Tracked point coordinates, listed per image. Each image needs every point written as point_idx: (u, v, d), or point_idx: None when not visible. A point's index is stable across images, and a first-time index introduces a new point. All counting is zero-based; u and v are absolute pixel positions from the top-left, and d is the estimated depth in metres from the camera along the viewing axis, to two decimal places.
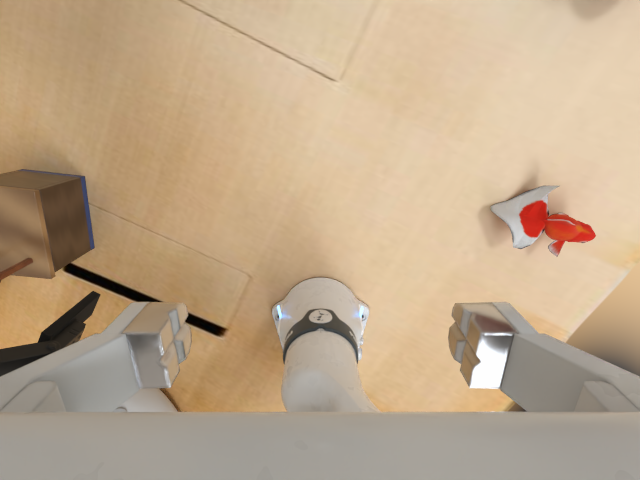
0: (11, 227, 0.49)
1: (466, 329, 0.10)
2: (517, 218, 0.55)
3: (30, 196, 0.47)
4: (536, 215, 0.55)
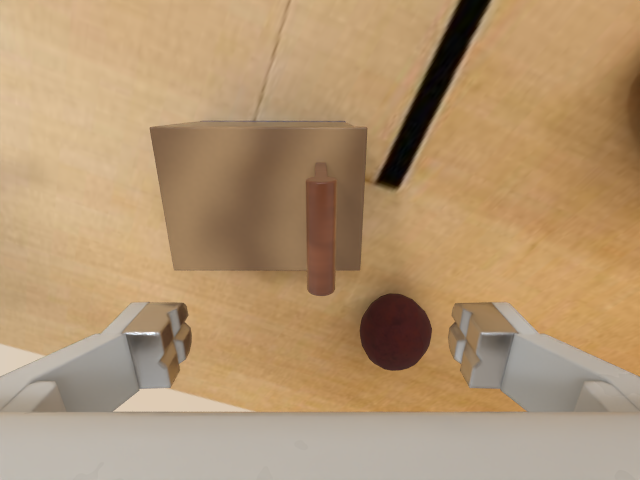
0: (246, 193, 0.23)
1: (466, 329, 0.10)
2: None
3: (163, 137, 0.22)
4: None
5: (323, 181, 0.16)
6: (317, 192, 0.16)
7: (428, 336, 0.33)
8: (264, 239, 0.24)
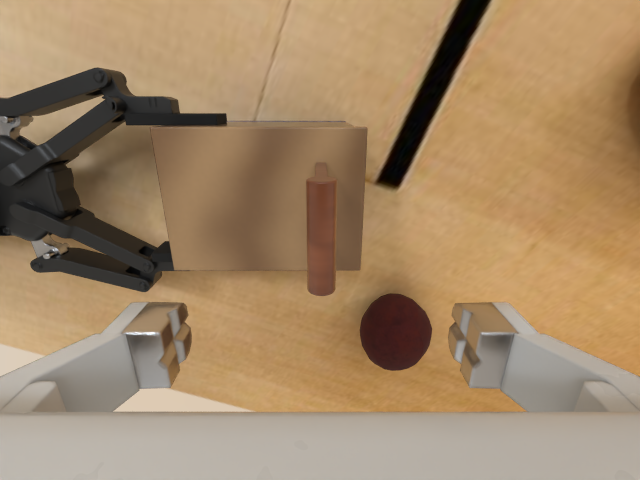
0: (247, 193, 0.23)
1: (466, 329, 0.10)
2: None
3: (163, 137, 0.21)
4: None
5: (323, 181, 0.16)
6: (317, 192, 0.16)
7: (428, 336, 0.33)
8: (265, 239, 0.24)
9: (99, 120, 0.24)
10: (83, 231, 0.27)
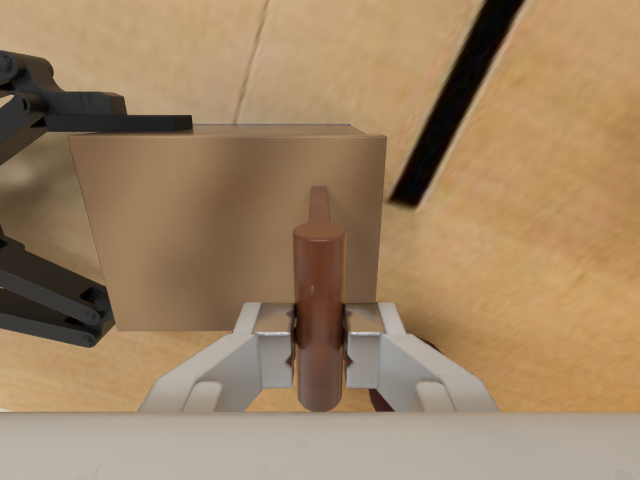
0: (213, 229, 0.16)
1: None
2: None
3: (89, 151, 0.15)
4: None
5: (323, 236, 0.09)
6: (312, 256, 0.09)
7: None
8: (241, 290, 0.17)
9: (10, 125, 0.17)
10: (2, 272, 0.20)
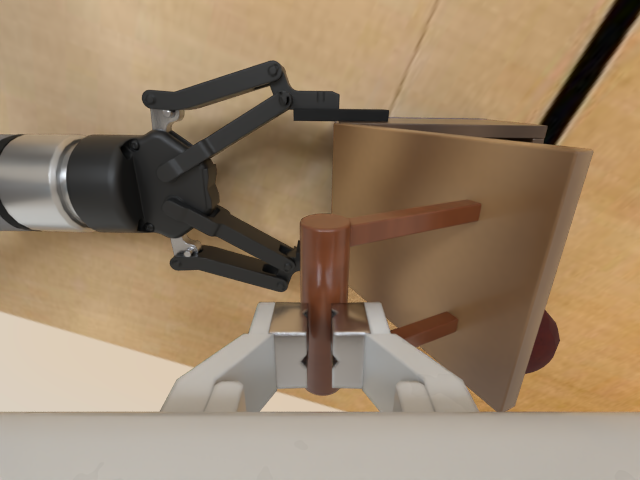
0: None
1: None
2: None
3: (339, 135, 0.20)
4: None
5: (309, 224, 0.10)
6: (300, 238, 0.10)
7: (558, 339, 0.32)
8: (393, 281, 0.18)
9: (265, 115, 0.23)
10: (229, 229, 0.27)
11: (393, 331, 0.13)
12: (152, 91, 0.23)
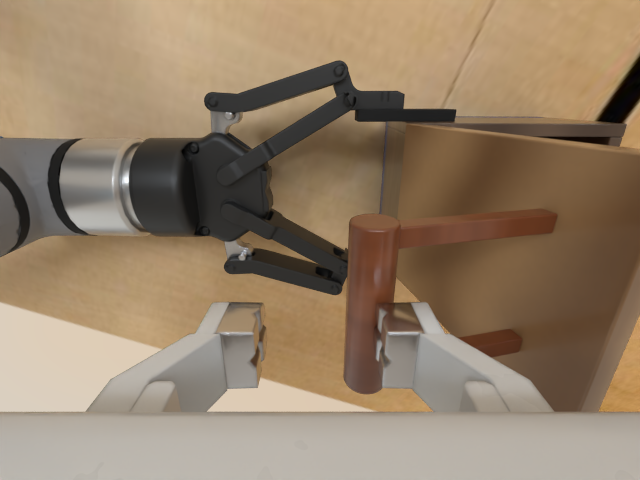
0: None
1: None
2: None
3: (411, 136, 0.20)
4: None
5: (357, 223, 0.10)
6: (349, 236, 0.10)
7: None
8: (454, 291, 0.17)
9: (329, 116, 0.23)
10: (285, 231, 0.26)
11: None
12: (215, 93, 0.23)
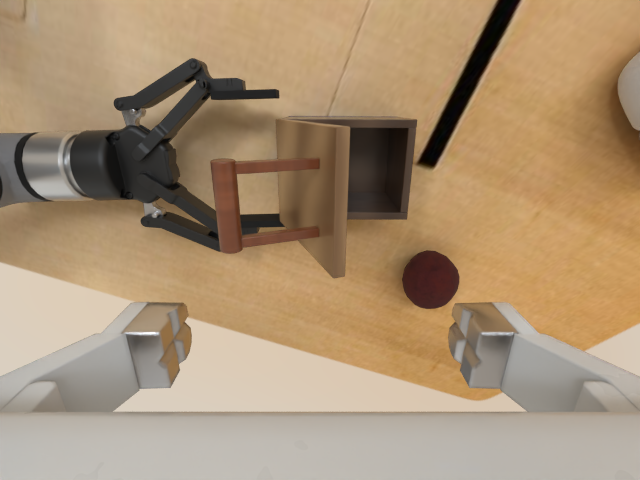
0: (296, 175, 0.28)
1: (466, 329, 0.10)
2: None
3: (278, 126, 0.31)
4: None
5: (213, 161, 0.21)
6: None
7: (457, 281, 0.43)
8: (300, 217, 0.29)
9: (194, 98, 0.34)
10: (183, 200, 0.38)
11: (276, 231, 0.24)
12: (119, 98, 0.34)
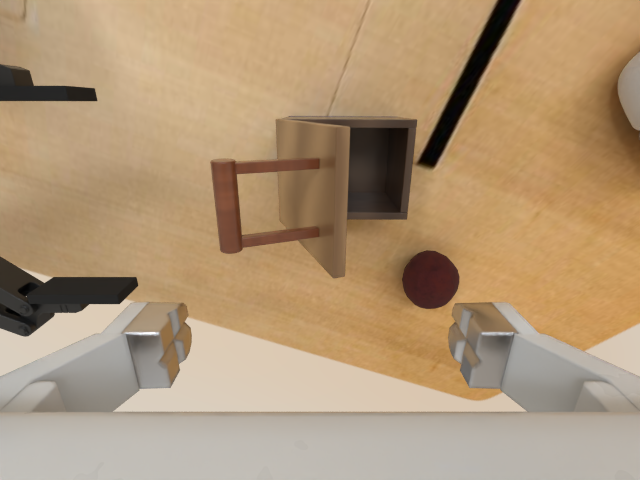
0: (296, 175, 0.28)
1: (466, 329, 0.10)
2: None
3: (278, 126, 0.31)
4: None
5: (213, 161, 0.21)
6: None
7: (457, 281, 0.43)
8: (300, 217, 0.29)
9: None
10: None
11: (276, 231, 0.24)
12: None
